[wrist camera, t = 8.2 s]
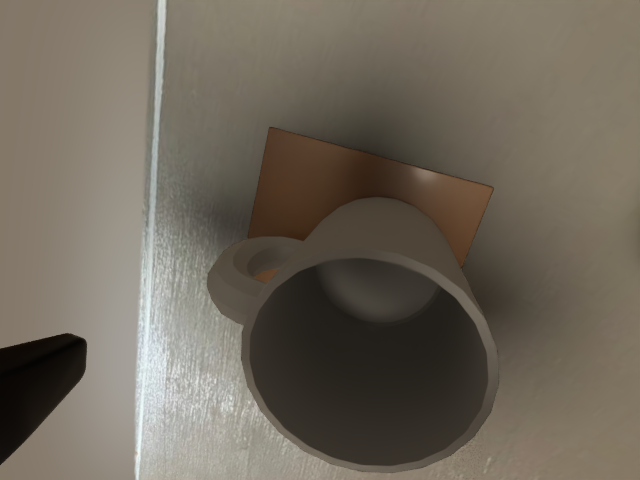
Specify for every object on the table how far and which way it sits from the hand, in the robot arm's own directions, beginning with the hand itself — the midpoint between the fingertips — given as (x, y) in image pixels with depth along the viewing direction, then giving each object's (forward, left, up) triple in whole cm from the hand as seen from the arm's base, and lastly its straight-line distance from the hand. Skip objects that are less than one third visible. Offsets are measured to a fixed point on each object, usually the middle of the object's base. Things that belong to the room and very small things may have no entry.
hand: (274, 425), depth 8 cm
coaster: (0, 0, -12) cm, 12 cm away
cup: (0, 0, -12) cm, 12 cm away
